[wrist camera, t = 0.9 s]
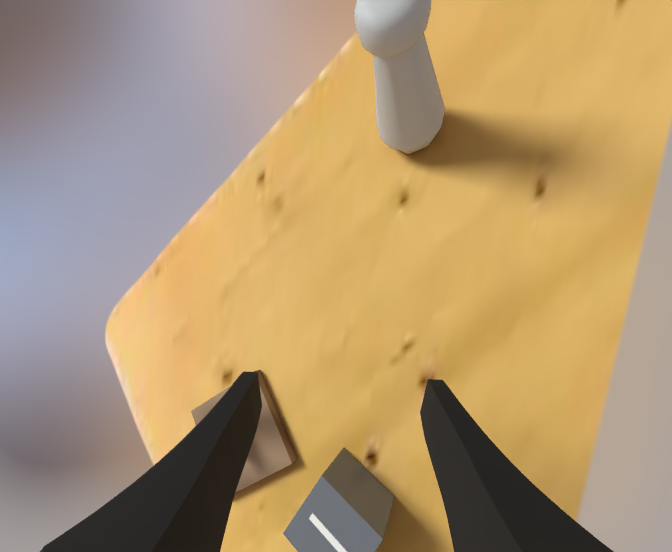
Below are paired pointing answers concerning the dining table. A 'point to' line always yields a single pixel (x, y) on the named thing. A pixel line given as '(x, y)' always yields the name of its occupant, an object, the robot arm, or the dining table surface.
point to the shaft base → (259, 439)
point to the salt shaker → (401, 71)
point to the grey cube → (342, 511)
